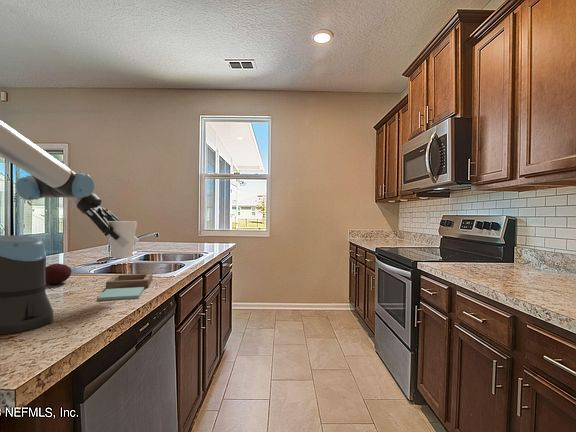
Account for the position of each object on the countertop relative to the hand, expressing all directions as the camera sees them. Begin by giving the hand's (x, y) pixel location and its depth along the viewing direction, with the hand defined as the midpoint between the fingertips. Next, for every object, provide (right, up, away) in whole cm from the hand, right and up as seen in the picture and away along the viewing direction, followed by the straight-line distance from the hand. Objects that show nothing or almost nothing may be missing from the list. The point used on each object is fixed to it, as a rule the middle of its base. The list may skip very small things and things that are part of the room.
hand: (131, 243), depth 118 cm
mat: (-3, -19, 0) cm, 19 cm away
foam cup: (-3, -5, 0) cm, 6 cm away
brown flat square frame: (-8, -18, +16) cm, 26 cm away
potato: (-40, -18, +17) cm, 47 cm away
